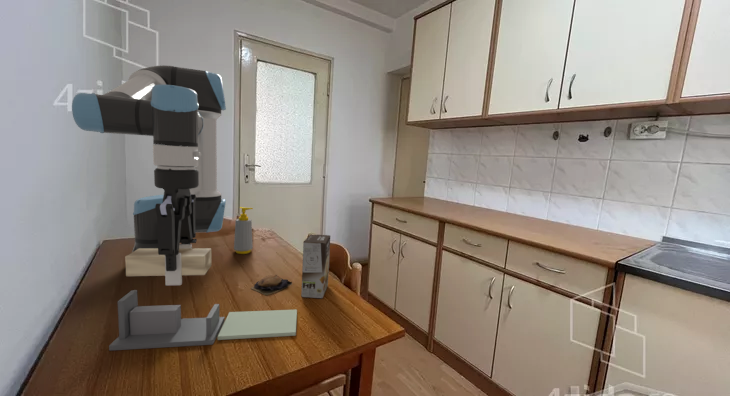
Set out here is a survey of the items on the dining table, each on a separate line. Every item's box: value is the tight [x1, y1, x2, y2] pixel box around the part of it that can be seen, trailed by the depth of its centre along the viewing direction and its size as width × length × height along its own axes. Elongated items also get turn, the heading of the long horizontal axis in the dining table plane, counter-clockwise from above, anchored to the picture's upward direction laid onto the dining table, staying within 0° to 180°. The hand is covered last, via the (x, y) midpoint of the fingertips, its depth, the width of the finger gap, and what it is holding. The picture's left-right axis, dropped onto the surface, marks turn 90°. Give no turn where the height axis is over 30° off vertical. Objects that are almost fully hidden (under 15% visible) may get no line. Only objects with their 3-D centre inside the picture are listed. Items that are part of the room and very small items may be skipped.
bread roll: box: [250, 274, 293, 296], centre depth 90 cm, size 11×8×4 cm
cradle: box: [108, 289, 225, 351], centre depth 63 cm, size 9×18×9 cm, turn 101°
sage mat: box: [217, 308, 298, 341], centre depth 69 cm, size 10×16×1 cm, turn 101°
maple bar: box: [124, 247, 212, 277], centre depth 62 cm, size 5×14×4 cm, turn 102°
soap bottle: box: [233, 206, 254, 255], centre depth 118 cm, size 7×7×18 cm
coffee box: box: [300, 233, 331, 299], centre depth 88 cm, size 9×6×16 cm
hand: (179, 278), depth 63 cm, fingers closed on maple bar, 5 cm apart
